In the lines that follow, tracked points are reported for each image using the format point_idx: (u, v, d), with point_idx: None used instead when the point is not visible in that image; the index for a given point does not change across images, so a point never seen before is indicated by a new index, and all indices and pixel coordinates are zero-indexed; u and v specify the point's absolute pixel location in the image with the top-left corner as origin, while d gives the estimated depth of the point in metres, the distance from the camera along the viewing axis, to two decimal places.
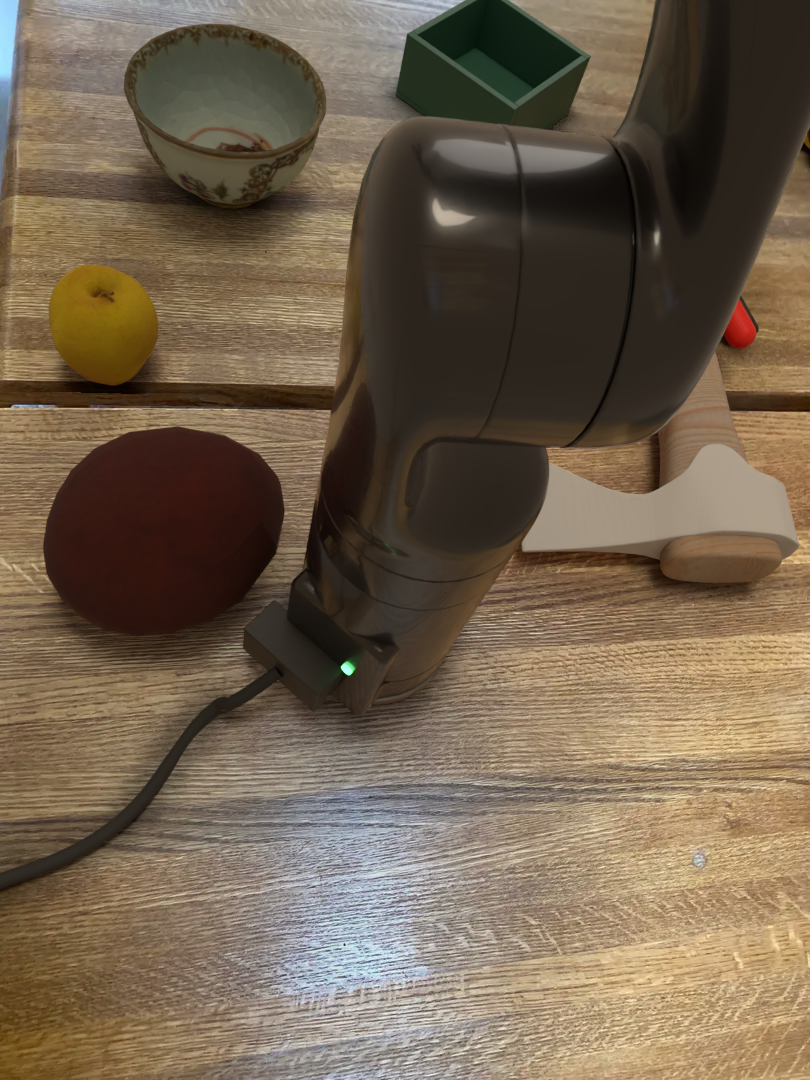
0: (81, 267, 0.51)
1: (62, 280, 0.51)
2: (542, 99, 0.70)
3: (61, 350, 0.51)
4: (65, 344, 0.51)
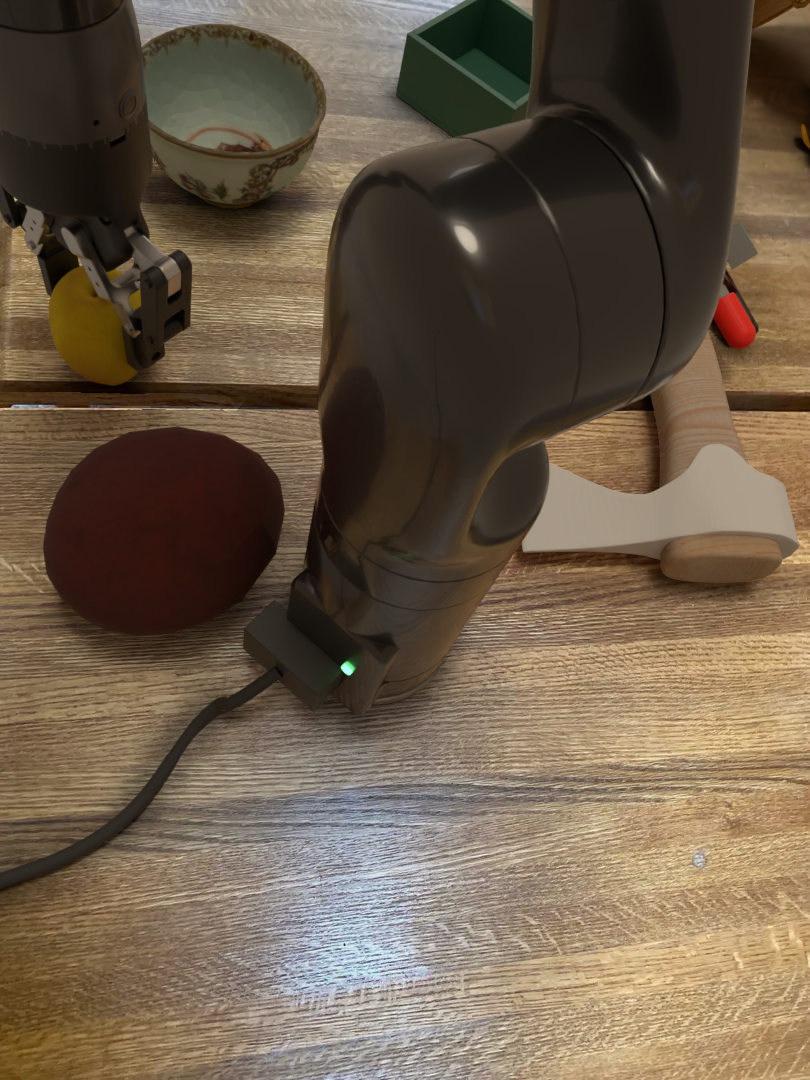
0: (81, 267, 0.51)
1: (62, 280, 0.51)
2: None
3: (61, 350, 0.51)
4: (65, 345, 0.51)
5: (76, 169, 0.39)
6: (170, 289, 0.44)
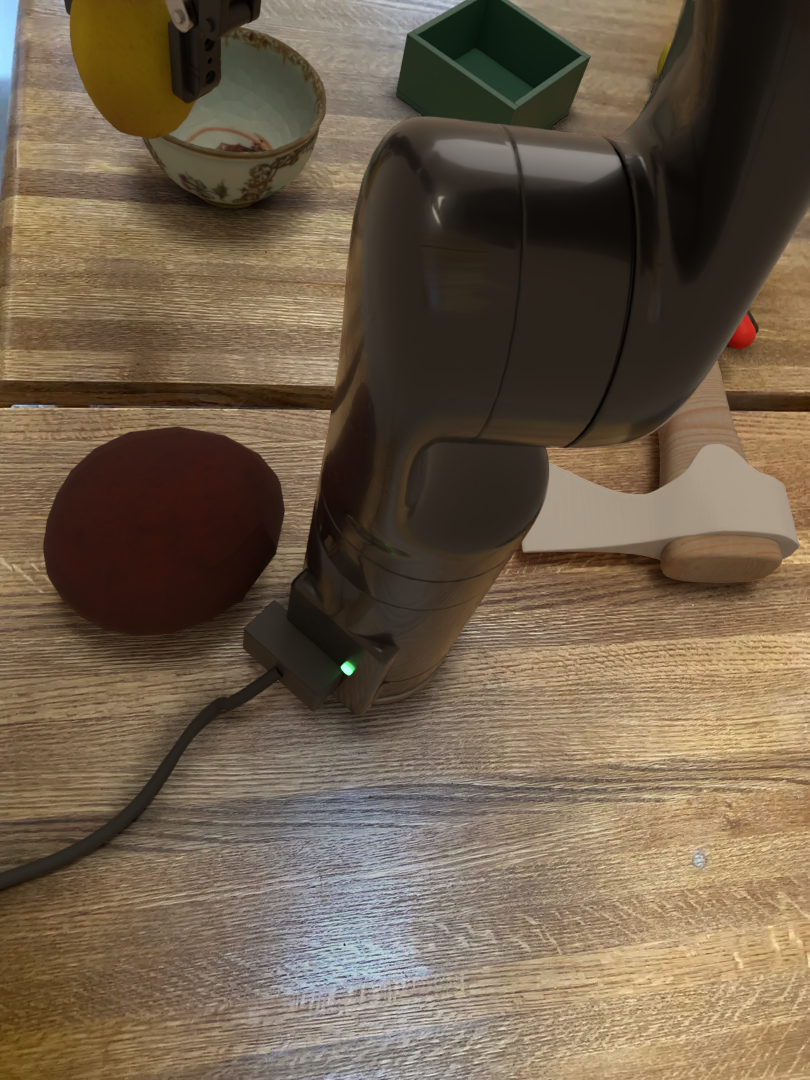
0: None
1: None
2: (542, 99, 0.70)
3: (87, 72, 0.40)
4: (93, 60, 0.39)
5: None
6: None
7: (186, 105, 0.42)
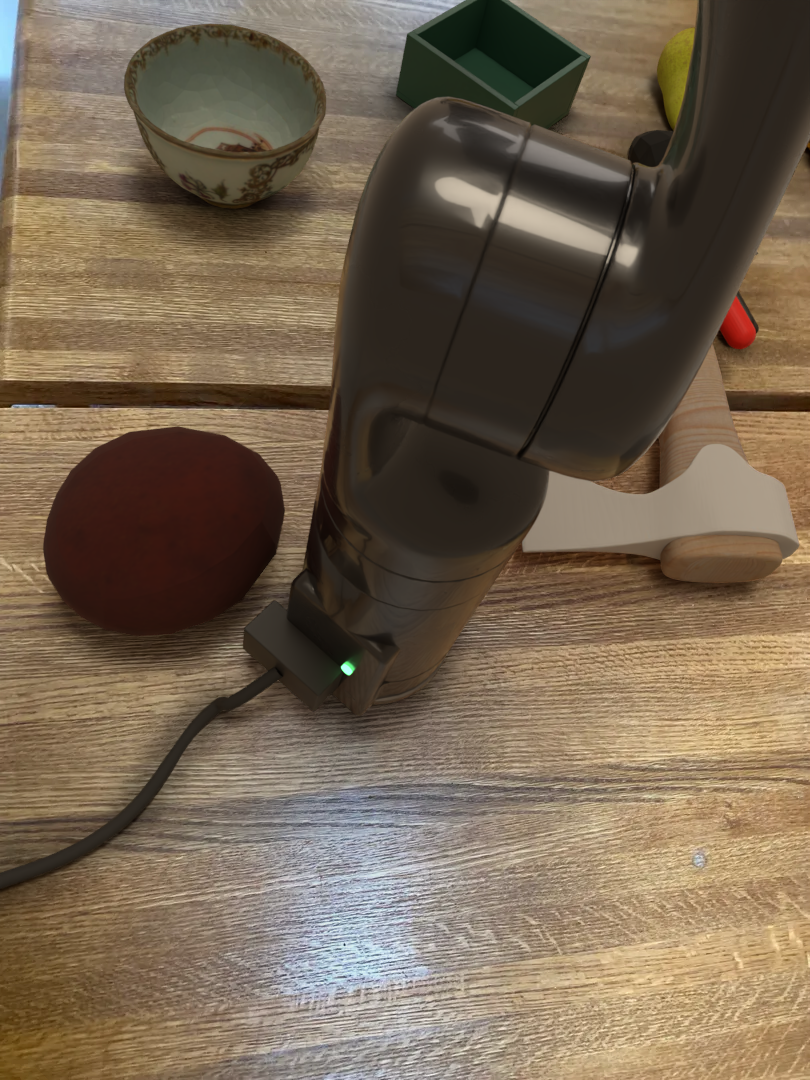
0: None
1: None
2: (542, 99, 0.70)
3: None
4: None
5: None
6: None
7: None
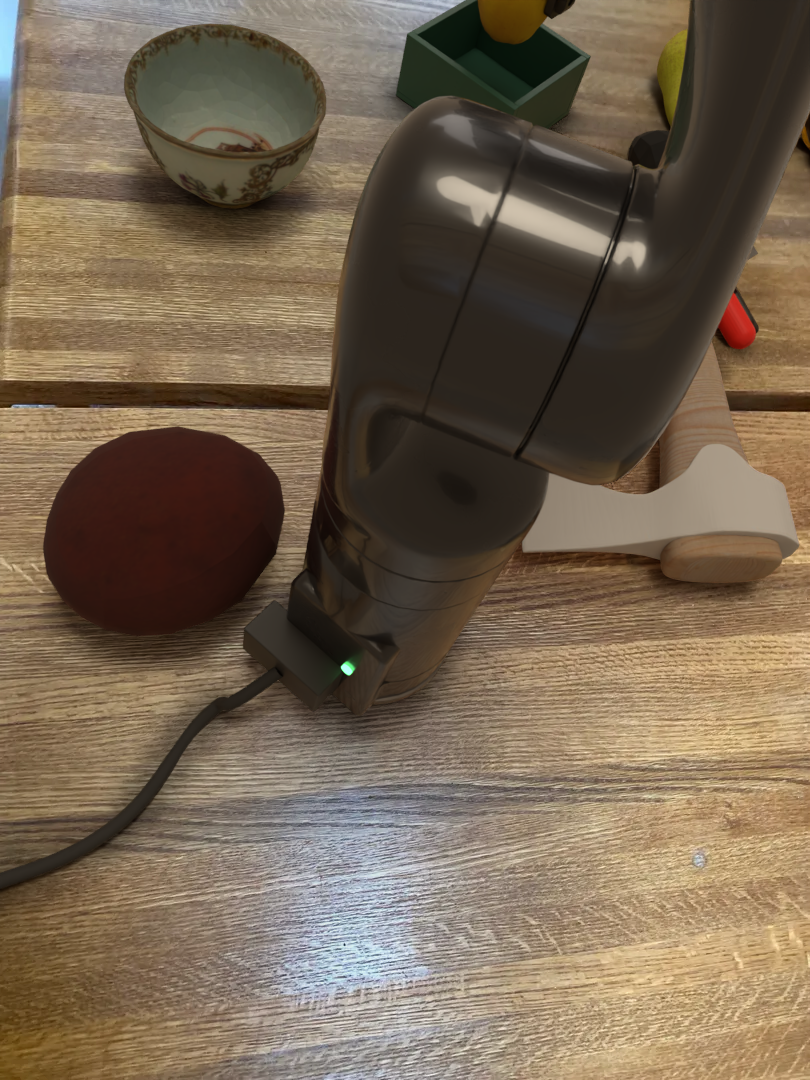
0: None
1: None
2: (542, 99, 0.70)
3: None
4: None
5: None
6: None
7: (543, 21, 0.67)
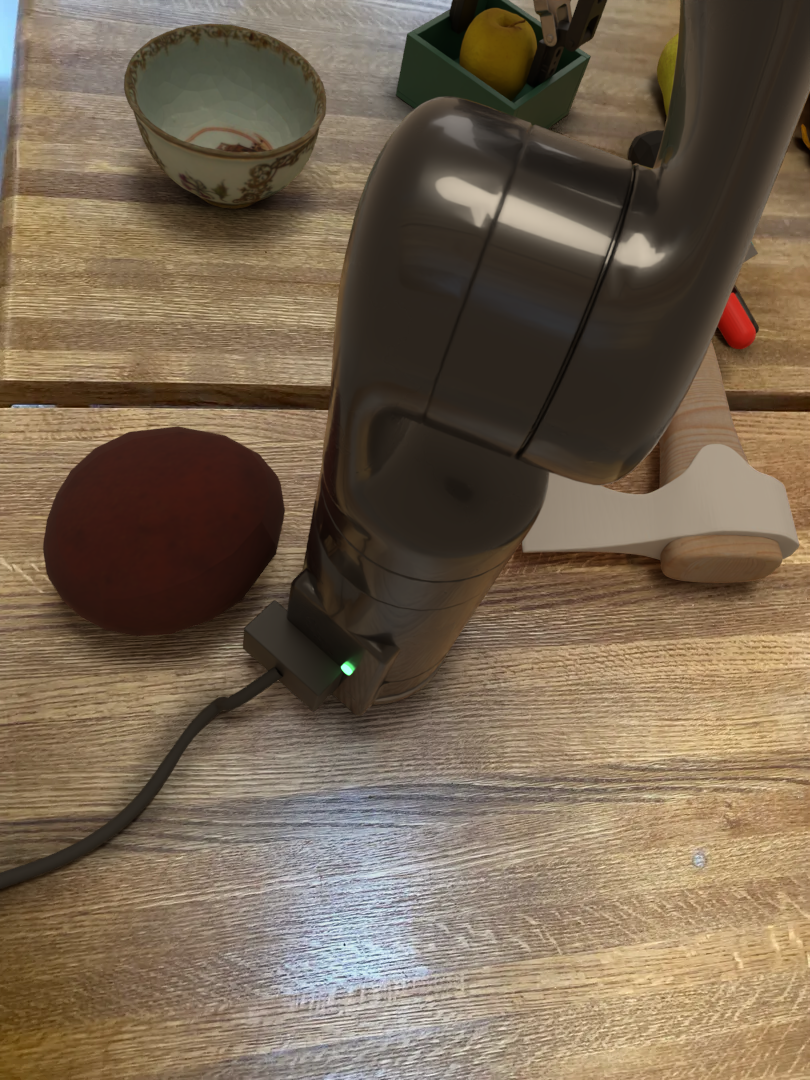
0: (491, 8, 0.70)
1: (480, 16, 0.69)
2: (542, 99, 0.70)
3: (475, 70, 0.70)
4: (482, 64, 0.69)
5: None
6: None
7: None
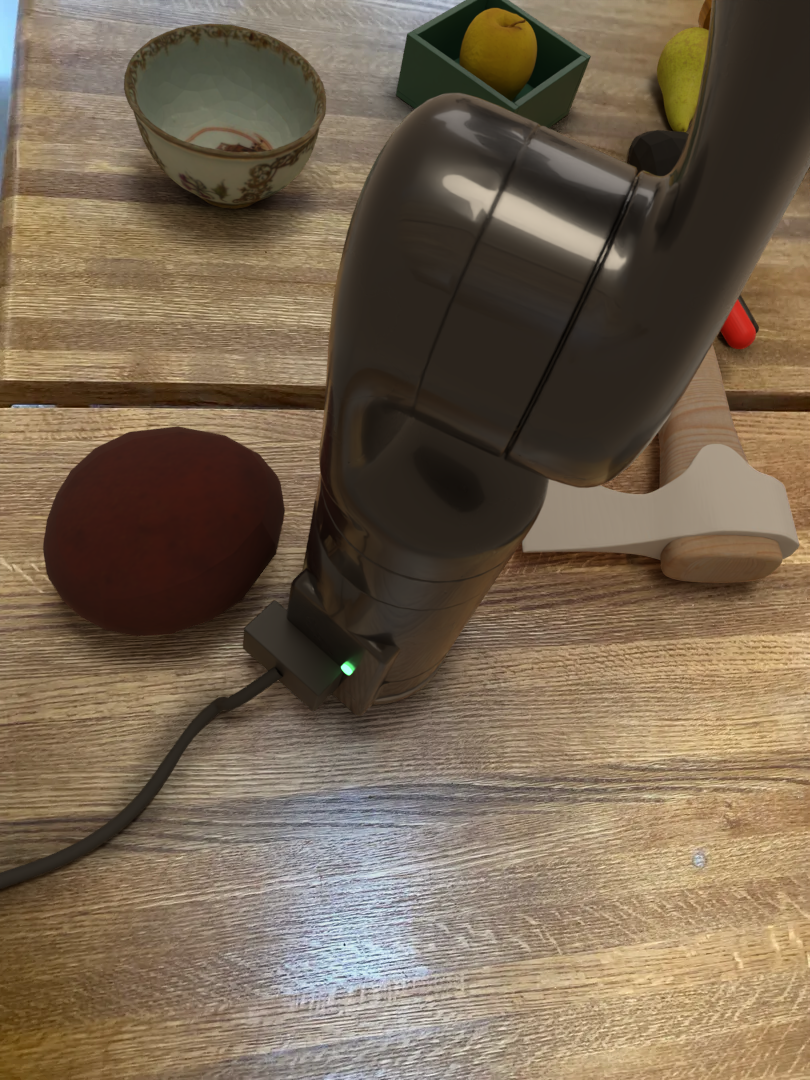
0: (491, 8, 0.70)
1: (480, 16, 0.69)
2: (542, 99, 0.70)
3: (475, 70, 0.70)
4: (482, 64, 0.69)
5: None
6: None
7: None
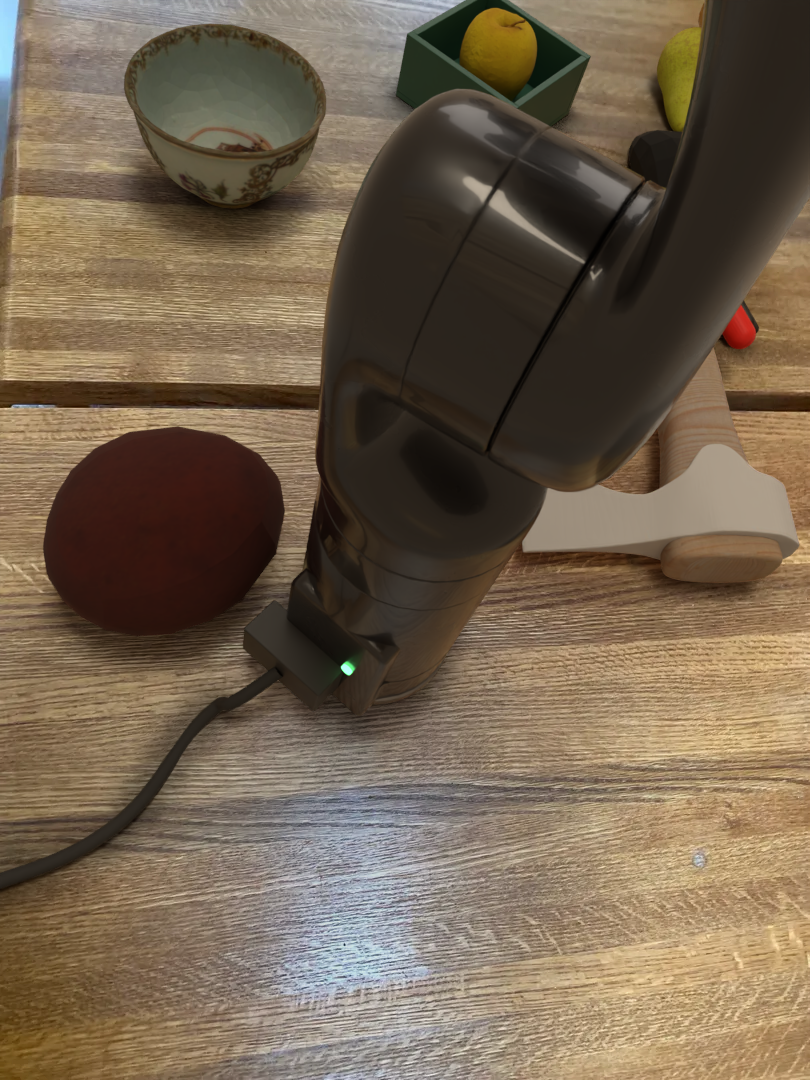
0: (491, 8, 0.70)
1: (480, 16, 0.69)
2: (542, 99, 0.70)
3: (475, 70, 0.70)
4: (482, 64, 0.69)
5: None
6: None
7: None
